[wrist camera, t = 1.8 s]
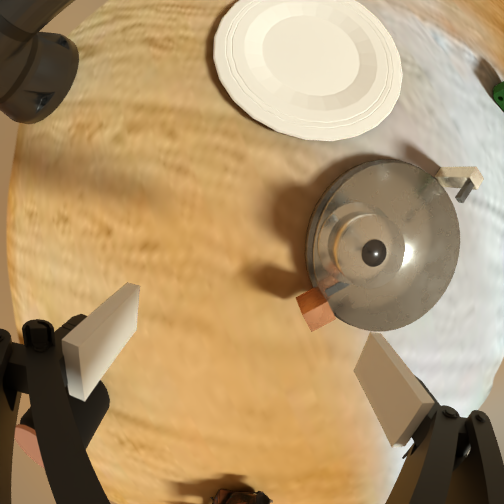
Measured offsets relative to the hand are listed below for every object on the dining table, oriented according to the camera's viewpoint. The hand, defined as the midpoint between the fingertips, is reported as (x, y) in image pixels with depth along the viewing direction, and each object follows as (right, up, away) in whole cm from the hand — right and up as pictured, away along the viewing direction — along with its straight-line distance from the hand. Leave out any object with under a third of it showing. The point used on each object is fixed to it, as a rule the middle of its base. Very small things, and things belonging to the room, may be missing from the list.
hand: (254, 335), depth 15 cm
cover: (+12, +5, +18) cm, 22 cm away
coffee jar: (-30, -20, +27) cm, 44 cm away
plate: (+8, +30, +16) cm, 35 cm away
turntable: (+17, +4, +19) cm, 26 cm away
